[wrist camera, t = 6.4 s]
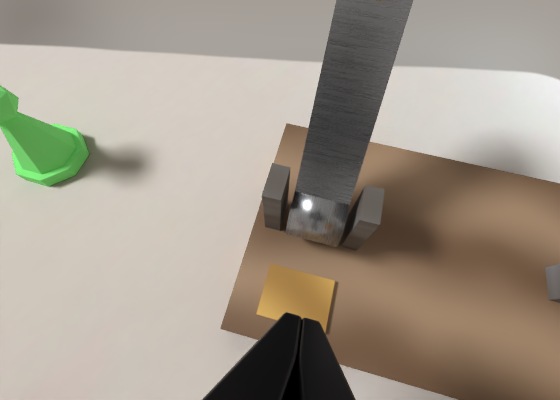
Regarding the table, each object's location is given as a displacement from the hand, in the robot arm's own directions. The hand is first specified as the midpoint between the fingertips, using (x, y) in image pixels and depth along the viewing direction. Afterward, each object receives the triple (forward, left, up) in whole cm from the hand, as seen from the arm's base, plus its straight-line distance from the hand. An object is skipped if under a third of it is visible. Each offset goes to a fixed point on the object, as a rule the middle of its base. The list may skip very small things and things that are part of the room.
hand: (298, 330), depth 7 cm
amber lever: (+4, -2, -6) cm, 8 cm away
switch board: (+1, -9, -9) cm, 13 cm away
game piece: (+14, +12, -9) cm, 21 cm away
